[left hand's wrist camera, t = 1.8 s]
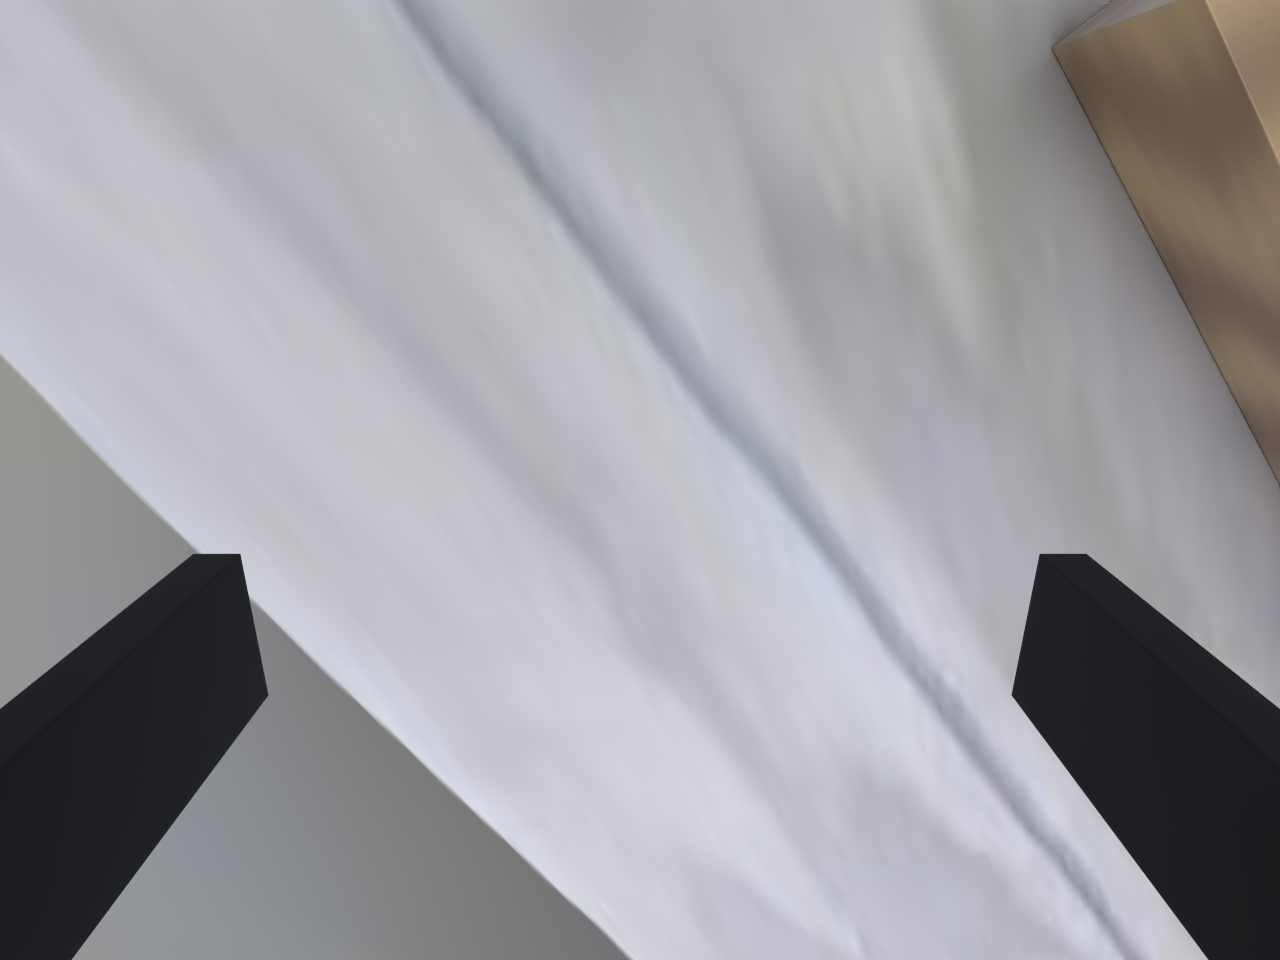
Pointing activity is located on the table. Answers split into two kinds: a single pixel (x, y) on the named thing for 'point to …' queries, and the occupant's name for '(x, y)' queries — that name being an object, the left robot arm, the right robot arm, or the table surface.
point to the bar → (1200, 166)
